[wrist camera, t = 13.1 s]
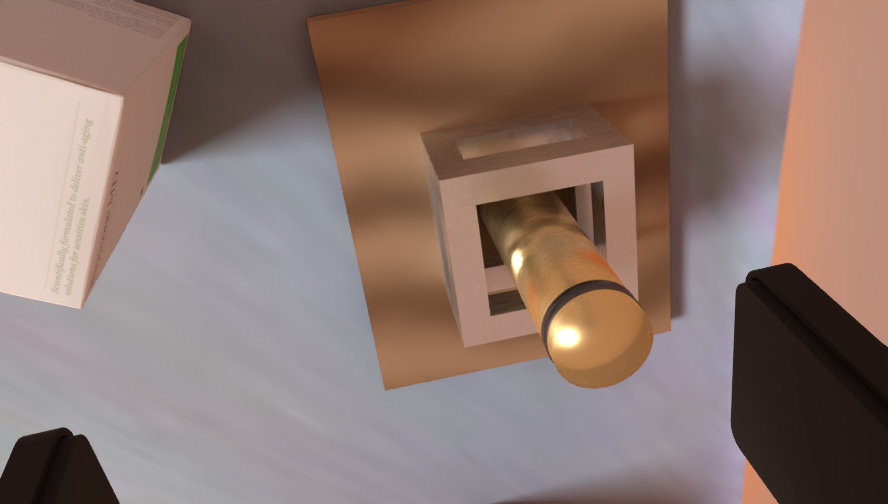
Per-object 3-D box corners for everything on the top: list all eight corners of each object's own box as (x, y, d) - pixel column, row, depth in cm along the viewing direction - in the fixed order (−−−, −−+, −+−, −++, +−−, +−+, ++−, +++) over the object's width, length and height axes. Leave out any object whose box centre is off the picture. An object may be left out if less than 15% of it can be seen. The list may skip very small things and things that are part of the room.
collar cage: (419, 133, 42) (439, 180, 36) (586, 103, 42) (633, 144, 36) (443, 283, 46) (464, 347, 40) (595, 252, 47) (638, 311, 41)
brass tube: (471, 169, 43) (547, 311, 30) (545, 155, 43) (653, 289, 30) (479, 237, 45) (555, 398, 32) (550, 223, 45) (655, 377, 32)
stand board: (306, 17, 40) (306, 22, 38) (657, -43, 41) (667, -40, 40) (383, 378, 50) (385, 390, 49) (663, 321, 51) (670, 330, 50)
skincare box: (159, 169, 42) (88, 324, 28) (22, 132, 40) (-127, 280, 26) (196, 11, 39) (135, 98, 25) (49, -36, 37) (-104, 29, 23)
